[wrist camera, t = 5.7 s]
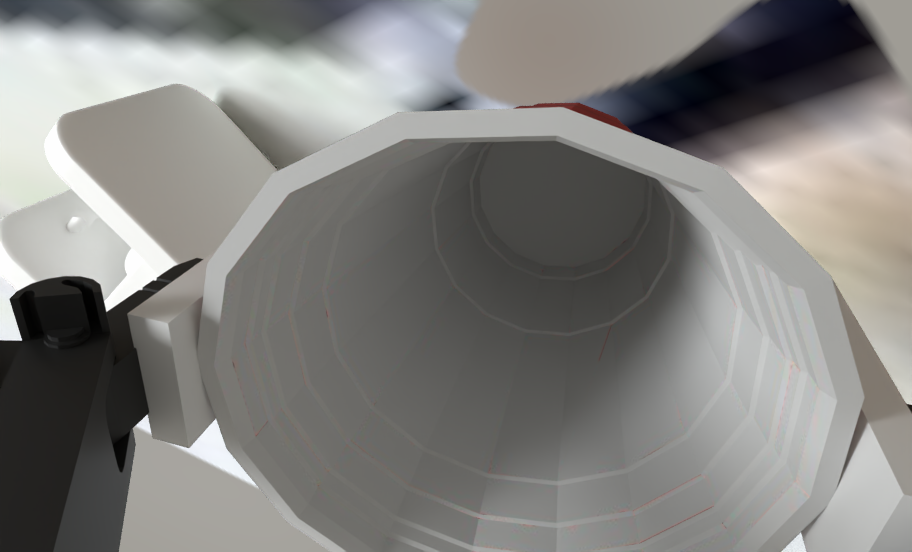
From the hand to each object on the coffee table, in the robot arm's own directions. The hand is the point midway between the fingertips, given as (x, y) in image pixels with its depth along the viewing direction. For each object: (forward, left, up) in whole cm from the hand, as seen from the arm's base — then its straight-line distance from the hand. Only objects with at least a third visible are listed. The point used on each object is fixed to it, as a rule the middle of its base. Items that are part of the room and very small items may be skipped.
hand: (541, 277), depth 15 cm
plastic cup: (0, 0, -6) cm, 6 cm away
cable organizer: (+10, -21, -20) cm, 30 cm away
